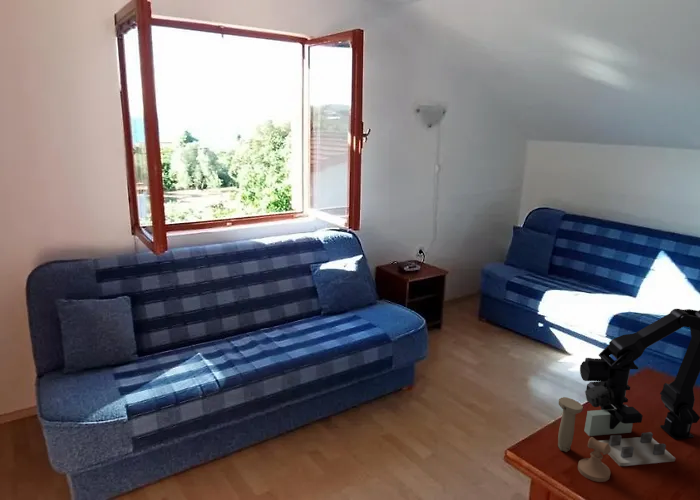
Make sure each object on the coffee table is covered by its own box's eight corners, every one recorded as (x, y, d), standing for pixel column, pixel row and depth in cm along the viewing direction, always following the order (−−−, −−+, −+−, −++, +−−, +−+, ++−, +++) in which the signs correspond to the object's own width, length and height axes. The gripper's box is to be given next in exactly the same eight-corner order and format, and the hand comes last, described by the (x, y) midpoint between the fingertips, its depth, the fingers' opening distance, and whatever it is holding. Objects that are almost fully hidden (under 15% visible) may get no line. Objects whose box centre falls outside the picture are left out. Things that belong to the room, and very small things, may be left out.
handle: (568, 457, 146) (575, 411, 142) (548, 445, 152) (555, 400, 148) (578, 452, 149) (586, 406, 145) (559, 440, 154) (566, 395, 150)
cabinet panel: (650, 439, 155) (652, 427, 154) (674, 461, 146) (677, 449, 145) (598, 443, 153) (600, 431, 152) (619, 466, 143) (622, 454, 142)
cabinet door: (625, 427, 161) (629, 407, 159) (631, 432, 159) (635, 412, 157) (584, 430, 159) (587, 410, 157) (588, 436, 156) (592, 415, 155)
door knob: (589, 427, 144) (619, 440, 139) (583, 457, 147) (613, 471, 142) (578, 440, 138) (609, 454, 133) (573, 471, 141) (604, 486, 136)
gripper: (574, 366, 162) (567, 410, 166) (611, 399, 144) (603, 447, 148) (607, 364, 163) (599, 408, 167) (648, 396, 145) (638, 444, 150)
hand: (608, 425), depth 158 cm, fingers closed on cabinet door, 2 cm apart
